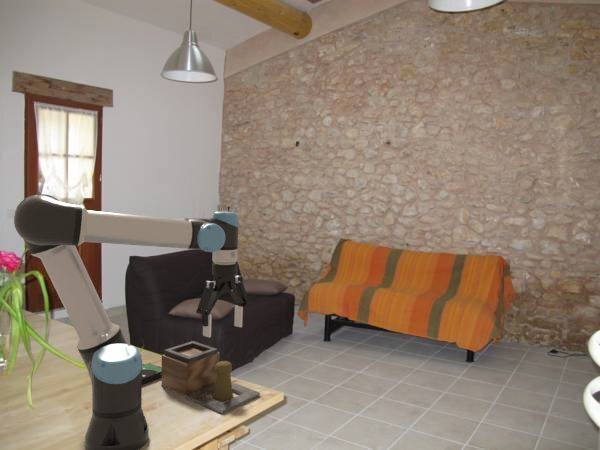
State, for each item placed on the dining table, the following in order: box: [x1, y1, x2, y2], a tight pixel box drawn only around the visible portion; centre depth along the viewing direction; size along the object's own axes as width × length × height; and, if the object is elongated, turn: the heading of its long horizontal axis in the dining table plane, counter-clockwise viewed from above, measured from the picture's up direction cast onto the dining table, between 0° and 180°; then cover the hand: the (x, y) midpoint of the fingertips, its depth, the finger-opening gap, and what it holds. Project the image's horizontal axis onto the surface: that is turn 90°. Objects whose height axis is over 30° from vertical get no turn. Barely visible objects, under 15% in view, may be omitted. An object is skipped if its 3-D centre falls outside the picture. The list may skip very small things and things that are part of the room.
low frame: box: [185, 381, 261, 415], centre depth 151 cm, size 16×16×1 cm
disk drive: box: [142, 362, 162, 386], centre depth 163 cm, size 10×3×15 cm
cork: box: [212, 360, 234, 402], centre depth 150 cm, size 6×6×11 cm
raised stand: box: [161, 340, 221, 397], centre depth 159 cm, size 14×12×12 cm
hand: (223, 331), depth 150 cm, fingers open, 13 cm apart
